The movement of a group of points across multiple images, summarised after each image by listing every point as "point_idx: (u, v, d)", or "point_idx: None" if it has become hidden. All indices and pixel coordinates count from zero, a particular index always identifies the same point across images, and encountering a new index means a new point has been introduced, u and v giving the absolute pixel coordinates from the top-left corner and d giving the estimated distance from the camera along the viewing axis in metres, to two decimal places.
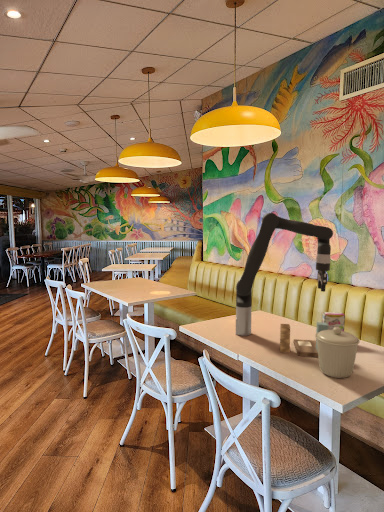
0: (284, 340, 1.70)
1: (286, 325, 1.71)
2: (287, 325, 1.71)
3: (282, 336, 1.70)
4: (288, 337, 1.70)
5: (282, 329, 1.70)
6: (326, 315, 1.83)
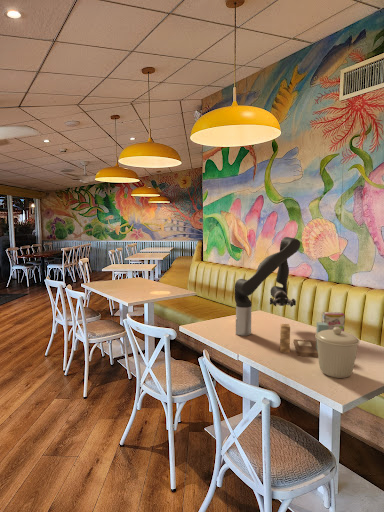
0: (284, 340, 1.70)
1: (286, 325, 1.71)
2: (287, 325, 1.71)
3: (282, 336, 1.70)
4: (288, 337, 1.70)
5: (282, 329, 1.70)
6: (326, 315, 1.83)
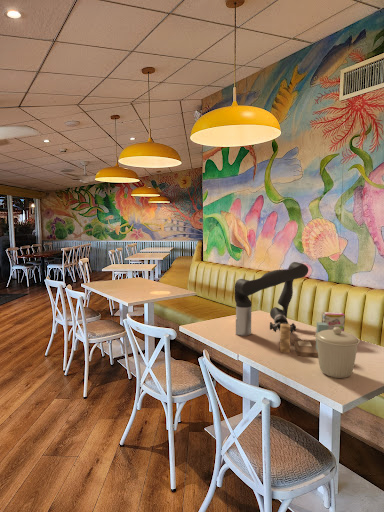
0: (284, 340, 1.70)
1: (286, 325, 1.71)
2: (287, 325, 1.71)
3: (282, 336, 1.70)
4: (288, 337, 1.70)
5: (282, 329, 1.70)
6: (326, 315, 1.83)
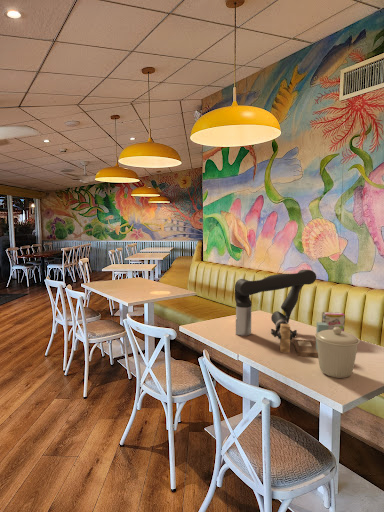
0: (284, 340, 1.70)
1: (286, 325, 1.71)
2: (287, 325, 1.71)
3: (282, 336, 1.70)
4: (288, 337, 1.70)
5: (282, 329, 1.70)
6: (326, 315, 1.83)
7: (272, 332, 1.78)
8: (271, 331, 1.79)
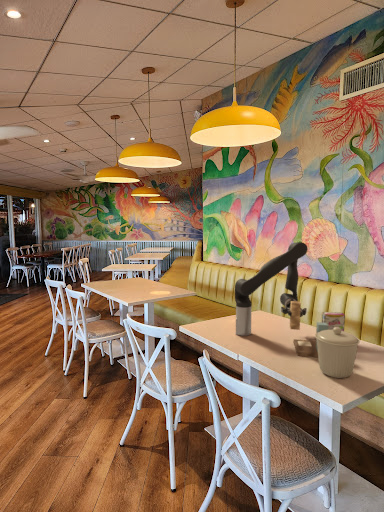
0: (294, 317, 1.71)
1: (296, 302, 1.72)
2: (297, 302, 1.72)
3: (292, 313, 1.71)
4: (298, 314, 1.71)
5: (292, 306, 1.71)
6: (326, 315, 1.83)
7: (282, 310, 1.79)
8: (281, 309, 1.81)
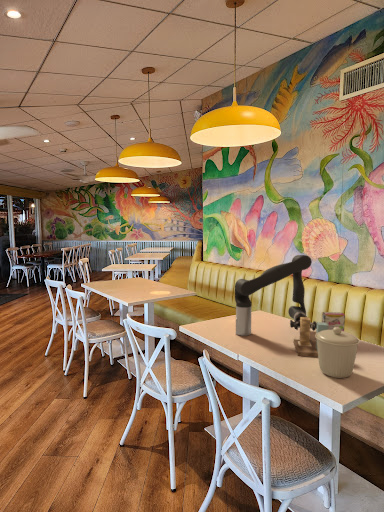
0: (304, 333, 1.75)
1: (306, 318, 1.76)
2: (307, 318, 1.76)
3: (302, 329, 1.75)
4: (308, 330, 1.74)
5: (302, 322, 1.75)
6: (326, 315, 1.83)
7: (290, 323, 1.84)
8: (290, 322, 1.85)
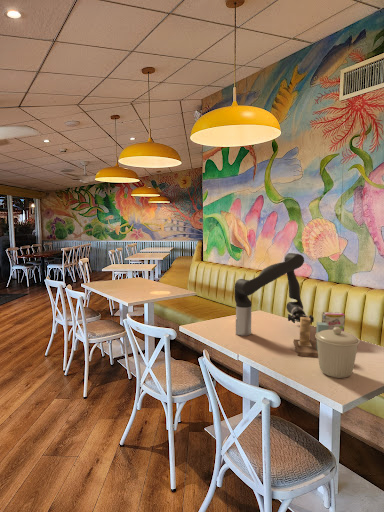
0: (304, 333, 1.75)
1: (306, 318, 1.76)
2: (307, 318, 1.76)
3: (302, 329, 1.75)
4: (308, 330, 1.74)
5: (302, 322, 1.75)
6: (326, 315, 1.83)
7: None
8: None
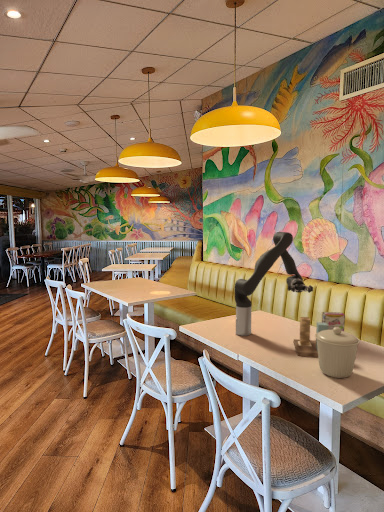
0: (304, 333, 1.75)
1: (306, 318, 1.76)
2: (307, 318, 1.76)
3: (302, 329, 1.75)
4: (308, 330, 1.74)
5: (302, 322, 1.75)
6: (326, 315, 1.83)
7: None
8: None
